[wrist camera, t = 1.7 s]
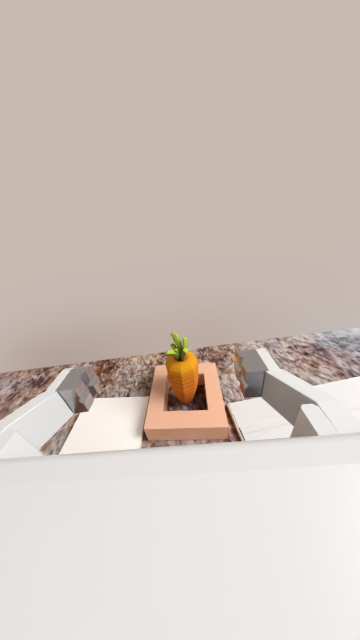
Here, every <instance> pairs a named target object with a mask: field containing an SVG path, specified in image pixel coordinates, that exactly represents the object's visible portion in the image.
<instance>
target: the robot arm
mask: <svg viewBox="0 0 360 640" xmlns="http://www.w3.org/2000/svg"><path fill="white" fill-rule="evenodd" d="M235 359H236V362H235V363H234V368H235V374H236V377H237V380H238V381H240V388H241V390H242V393H243V396H244V398H249V397H261V398H262V399H263V400H265V401H266V402H267V403H268V404H269V405H270V406H271V407H272V408H274V409H275V410H276V411H277V412H278V413H279V414H280V415H281V416H283V417H284V418H285V419H286V420H287V421H288V422H289V423H290V424H292V425H293V426H294V427H293V430H292V433H291V436H290V438H277V439H264V440H250V441H237V442H223V443H209V444H196V445H182V446H168V447H155V448H141V449H128V450H114V451H101V452H87V453H74V454H60V455H47V456H44V454H43V453H42V452H41V451H40V450H39V449H40V448H41V447H42V446H43V445H44V444H45V443H46V442H47V441H48V440H49V439H50V438H51V437H52V436H53V435H54V434H55V433H56V432H57V431H58V430H59V429H60V428H61V427H62V425H63V424H64V423H65V422H66V421H67V420H68V419H69V418H70V417H71V416H72V415H73V413H80V412H89V410H90V408H91V406H92V404H93V402H94V398H93V397H94V396H95V395H96V394H97V393H98V391H99V389H100V379H99V377H98V376H97V375H95V374H94V373H95V370H94V368H93V367H91V366H89V367H76V368H66V369H64V370H62V372H61V373H60V374H59V375H58V377H57V378H56V379H55V380H54V382H53V383H52V384H51V385H50V387H49V388H48V389H47V390H46V391H45V393H41V394H39V395H38V396H36V397H35V398H33V399H32V400H30V401H29V402H27V403H26V404H24V405H23V406H21V407H20V408H18V409H17V410H15V411H14V412H12V413H11V414H9V415H8V416H6V417H5V418H3V419H2V420H0V640H360V422H359V421H358V420H357V419H356V418H355V417H354V415H353V414H352V413H351V412H350V411H349V410H348V409H347V408H346V407H345V406H344V405H343V403H342V402H341V401H340V400H338V399H336V398H334V397H332V396H331V395H329V394H327V393H325V392H323V391H321V390H320V389H318V388H316V387H314V386H312V385H311V384H309V383H307V382H305V381H303V380H301V379H300V378H298V377H296V376H294V375H292V374H290V373H289V372H287V371H285V370H280V369H279V367H278V366H277V365H276V363H275V362H274V360H273V359H272V358H271V356H270V355H269V353H268V352H267V350H266V349H265V348H258V349H250V350H241V351H235Z"/></svg>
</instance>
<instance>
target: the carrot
mask: <svg viewBox="0 0 360 640" xmlns="http://www.w3.org/2000/svg"><path fill="white" fill-rule="evenodd" d="M171 336H172V338H173V340H174V342H175V344H176V345H177V347H176V346H175V344H171V347H172V349H173V350H174V351H173V350H170V351H166V352H165V354H166V355H170V356H169V357H168V359H167V361H166V369H167V373H168V377H169V380H170V383H171V385H172V388H173V390H174V392H175V394H176V396H177V398H178V399H179V400H180V401H181V402H182V403H184V404H188V403H190V402H191V401H192V399H193V397H194V394H195V392H196V388H197V384H198V361H197V359H196V357H195V356H194V354H193V353H192V352H189V351H188V349H187V347H188V343H187V338H185V337H183V347H182V344H181V341H180V339H179V337H178V335H177V333H172V334H171Z"/></svg>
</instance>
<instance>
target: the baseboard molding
mask: <svg viewBox="0 0 360 640" xmlns="http://www.w3.org/2000/svg"><path fill="white" fill-rule="evenodd" d="M314 387H316V388H318V389H320V390H321V391H323V392H325V393H327V394H329V395H331V396H332V397H334V398H336V399H338V400H340V401H341V402H342V403H343V405H344V406H345V407H346V408H347V409H348V410H349V411H350V412H351V413H352V414H353V415H354V417H355V418H356V419H357V420H358V421H359V422H360V376H359V377H354V378H349V379H344V380H340V381H335V382H330V383H325V384H320V385H316V386H314ZM227 403H228V401H227ZM227 408H228V411H229V413H230V416H231V418H232V421H233V423H234V425H235V428H236V430H237V433H238V435H239V438H240V440H241V441H250V440H264V439H277V438H290V436H291V433H292V430H293V427H294V426H293V425H292V424H290V423H289V422H288V421H287V420H286V419H285V418H284V417H283V416H281V415H280V414H279V413H278V412H277V411H276V410H275V409H274V408H272V407H271V406H270V405H269V404H268V403H267V402H266V401H265V400H263V399H262V398H261V397H258V398H253V399H249V400H244V401H239V402H234V403H229V404H227Z"/></svg>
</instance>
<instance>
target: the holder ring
mask: <svg viewBox="0 0 360 640" xmlns="http://www.w3.org/2000/svg"><path fill="white" fill-rule="evenodd" d="M200 385H204V389H205V397H206V406H207V410H193V411H167V406H168V394H169V387H172V385H171V383H170V380H169V377H168V373H167V369H166V365H161V366H156V367H155V372H154V378H153V383H152V388H151V394H150V399H149V404H148V409H147V415H146V420H145V425H144V431H145V433H146V436H147V438H148V441H157V440H206V439H227V437H228V428H229V427H228V422H227V417H226V412H225V408H224V403H223V398H222V393H221V388H220V384H219V379H218V374H217V369H216V364H215V363H200V364H198V384H197V386H200Z"/></svg>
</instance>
